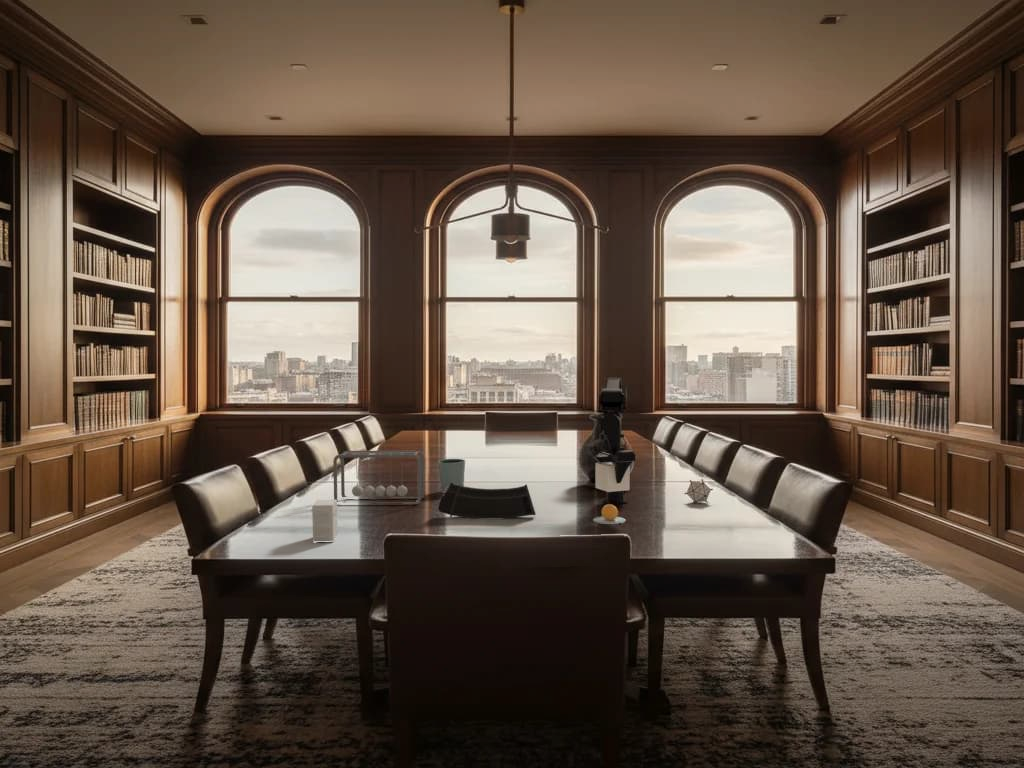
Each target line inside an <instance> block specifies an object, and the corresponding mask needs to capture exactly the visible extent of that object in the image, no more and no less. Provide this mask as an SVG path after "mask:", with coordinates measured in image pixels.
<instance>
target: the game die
mask: <svg viewBox="0 0 1024 768" xmlns="http://www.w3.org/2000/svg"><path fill="white" fill-rule="evenodd" d="M713 490H714V488H710V486H708V485H707V484H706V483H705V481H704V479H703V478H701V480H697V481H696V480H695V481H692V480H691V479H689V486H688V488H687V491H686V492H684V493H683V494H684V495H687V496H688V497H690V499H691V500H692V501H693V502H694V503H693V504H694V505H696V503H702V502H703V503H704V502H705V503H706V502H707V503H706V504H708V503H709V502H708V501H707V500H708V498H709V496H710V493H711V491H713Z"/></svg>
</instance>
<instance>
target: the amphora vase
mask: <svg viewBox="0 0 1024 768" xmlns="http://www.w3.org/2000/svg"><path fill="white" fill-rule="evenodd" d="M603 414H604V413H593V414H589V419H591V420H592V421H594V427H593V430H592V431H591V433H589V434H588V436H587V437H586V438H585V439H584V440H583V442H582V444H581V445H580V449H579V453H578V467H579V470H580V471H581V473H582V474H583V475H584V477H586V479H585V480H584V484H585V486H586V487H588V488H590V489H591V488H592V489H595V488H596V463H598V461H597V460H596V459H594V458H593V457H592V455H588V454H587V451H586V448H585V445H586V444H588V443H590V442H592V441H594V440H597V439H599V435H600V434H601V433H602V428H601V420H602V416H603ZM620 416H621V420H622V419H623V415H622V414H620ZM621 447H624V450H629V451H633V448H632V446H631V444H630V442H629V441H628V439H627V438H626V437H625V436H624V437H623V438H621ZM634 465H635V461H632V463H630V473H632V471H633V468H634ZM597 489H598V488H596V489H595V490H597ZM598 490H599V489H598Z"/></svg>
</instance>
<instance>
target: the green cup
mask: <svg viewBox="0 0 1024 768" xmlns="http://www.w3.org/2000/svg"><path fill="white" fill-rule="evenodd" d="M437 465H438V473H439V483H440V493H441V492H444V491H445V489H446V487H447V485H448V488H449V486H450V483H451V482H453V484H455V485H460V486H465V483H464V482H465V470H466V460H465V459H462V458H445V459H444V458H443V459H441V460H438V461H437Z"/></svg>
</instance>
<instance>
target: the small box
mask: <svg viewBox="0 0 1024 768" xmlns="http://www.w3.org/2000/svg"><path fill="white" fill-rule="evenodd" d="M337 500H338V499H337ZM337 500H334V499H317V500H316V501H315V502H314V504H313V505H312V506H311V508H312V509H311V510H312V512H311V513H312V542H313V541H332V540H334V538H335V536H336V535H337V536H338V505H337ZM337 536H336V537H337ZM335 539H336V538H335ZM334 541H335V540H334Z"/></svg>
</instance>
